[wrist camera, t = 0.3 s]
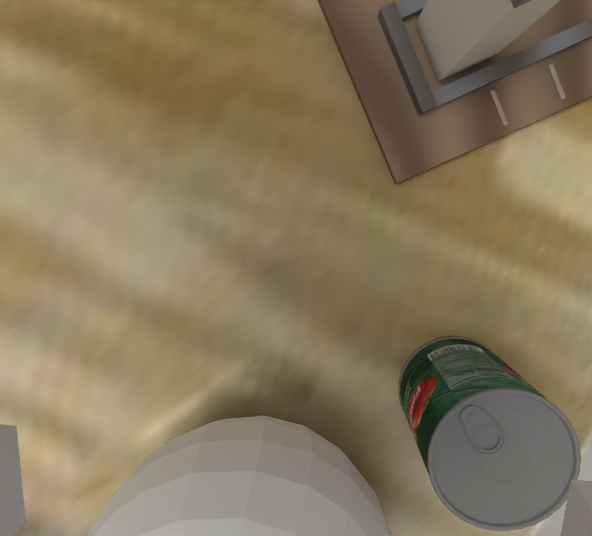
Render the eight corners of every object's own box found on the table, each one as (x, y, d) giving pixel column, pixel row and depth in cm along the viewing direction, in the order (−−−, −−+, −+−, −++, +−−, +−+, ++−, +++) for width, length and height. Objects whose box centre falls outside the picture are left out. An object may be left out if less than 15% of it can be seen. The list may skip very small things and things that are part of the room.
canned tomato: (528, 401, 38) (612, 481, 27) (437, 459, 39) (483, 559, 28) (467, 314, 37) (527, 359, 26) (376, 375, 38) (398, 443, 27)
